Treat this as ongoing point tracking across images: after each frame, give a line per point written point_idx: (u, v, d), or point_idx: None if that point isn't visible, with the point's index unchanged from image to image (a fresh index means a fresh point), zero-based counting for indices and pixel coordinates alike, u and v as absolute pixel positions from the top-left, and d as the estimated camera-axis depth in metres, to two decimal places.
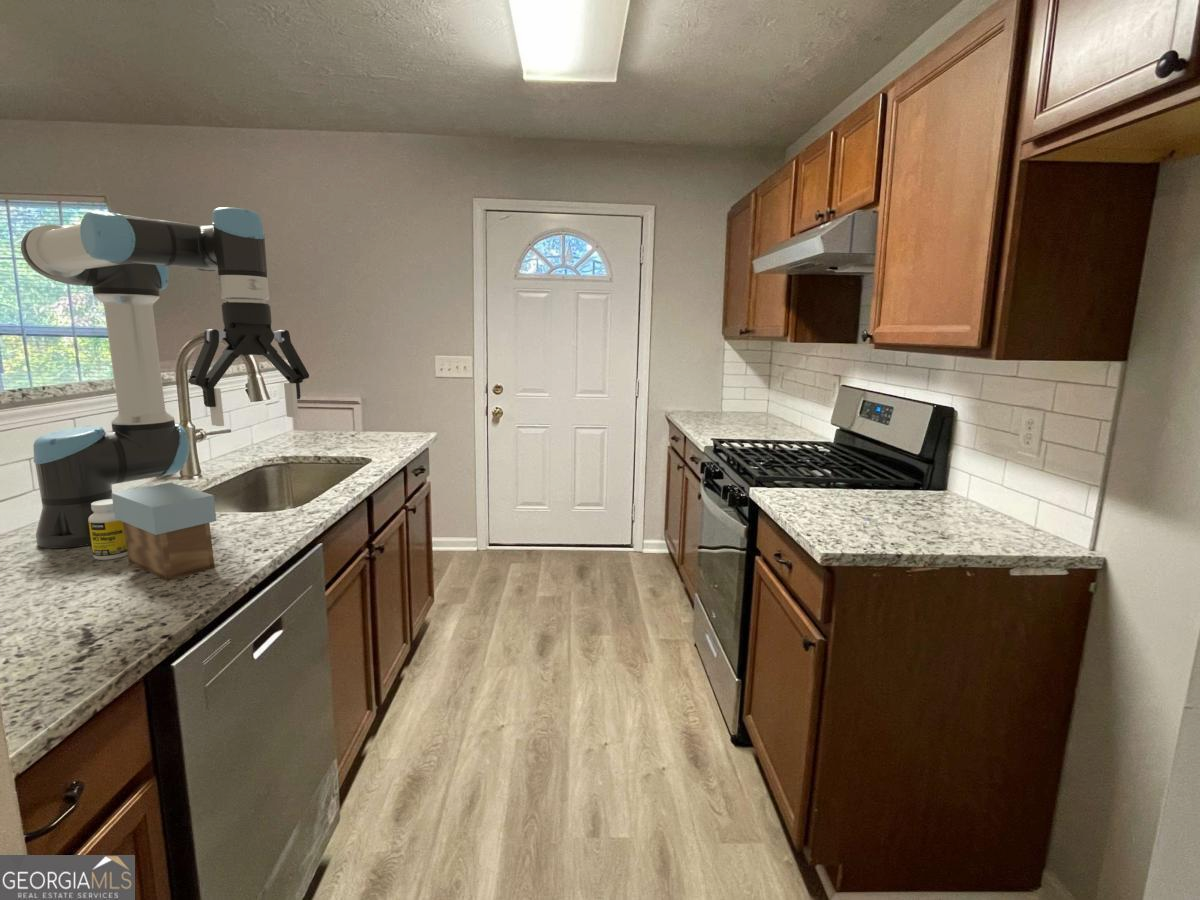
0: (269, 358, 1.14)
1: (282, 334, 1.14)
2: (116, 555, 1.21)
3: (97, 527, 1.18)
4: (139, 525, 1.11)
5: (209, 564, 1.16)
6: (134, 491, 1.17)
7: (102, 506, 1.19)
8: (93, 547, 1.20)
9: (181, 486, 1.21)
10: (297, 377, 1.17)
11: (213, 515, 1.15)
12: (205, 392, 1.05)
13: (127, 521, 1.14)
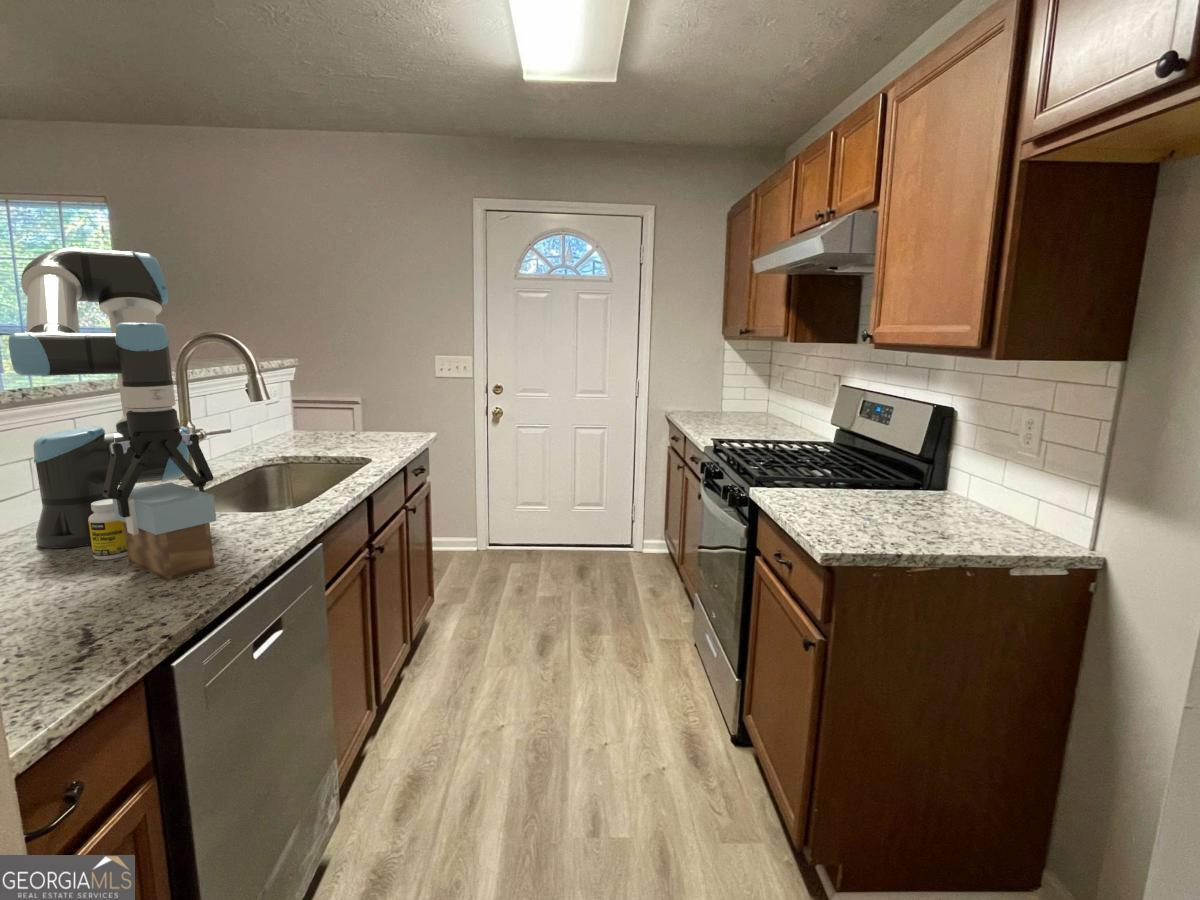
0: (174, 461, 1.17)
1: (191, 437, 1.18)
2: (116, 555, 1.21)
3: (97, 527, 1.18)
4: (139, 525, 1.11)
5: (209, 564, 1.16)
6: (134, 491, 1.17)
7: (102, 506, 1.19)
8: (93, 547, 1.20)
9: (181, 486, 1.21)
10: (200, 481, 1.20)
11: (213, 515, 1.15)
12: (119, 504, 1.10)
13: None
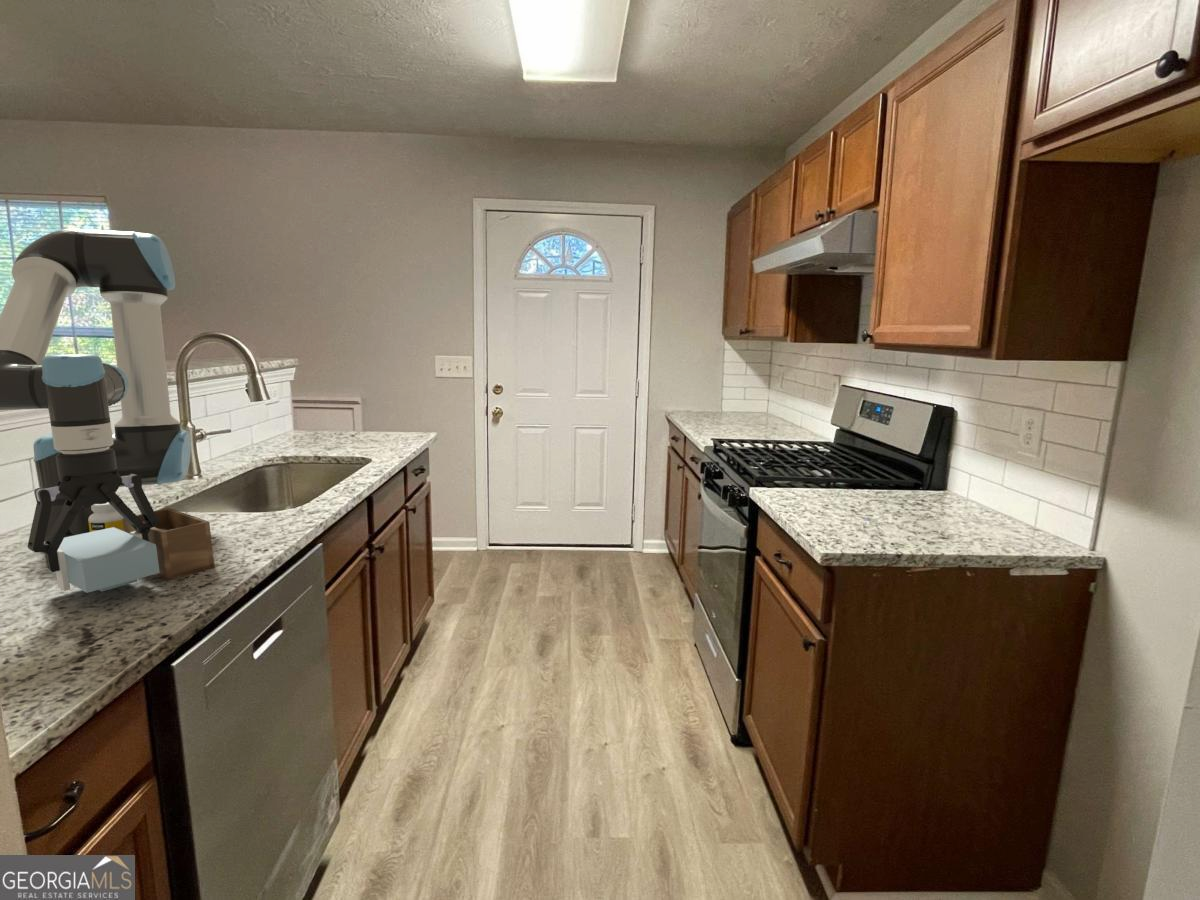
0: (113, 506, 1.05)
1: (132, 479, 1.06)
2: None
3: (97, 527, 1.18)
4: (70, 580, 0.99)
5: (209, 564, 1.16)
6: (69, 539, 1.05)
7: (102, 506, 1.19)
8: None
9: (123, 532, 1.09)
10: (144, 527, 1.08)
11: (156, 567, 1.04)
12: (47, 557, 0.98)
13: None
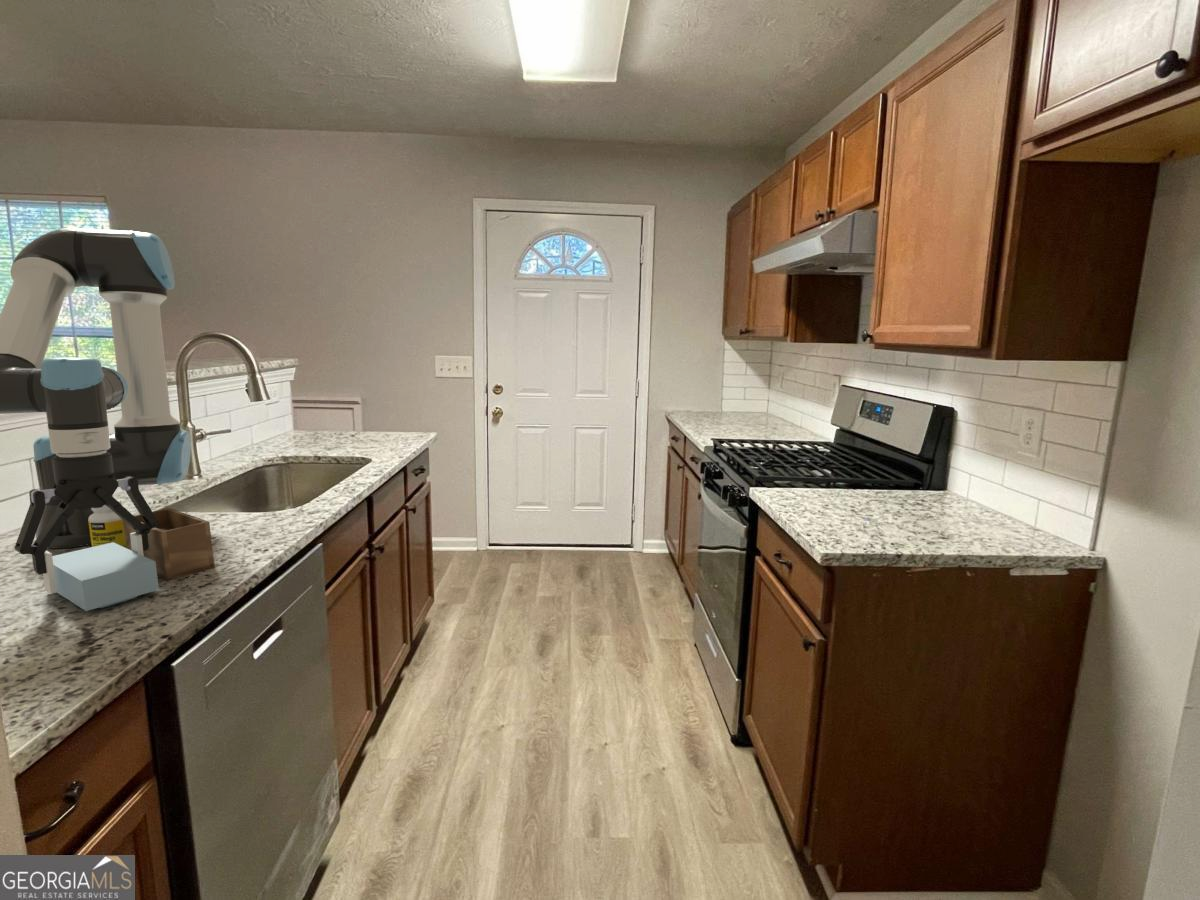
0: (111, 509, 1.05)
1: (129, 482, 1.06)
2: None
3: (97, 527, 1.18)
4: (70, 598, 0.99)
5: (209, 564, 1.16)
6: (68, 556, 1.05)
7: (102, 506, 1.19)
8: None
9: (123, 548, 1.09)
10: (144, 528, 1.08)
11: (155, 583, 1.04)
12: (34, 559, 0.97)
13: (58, 591, 1.02)
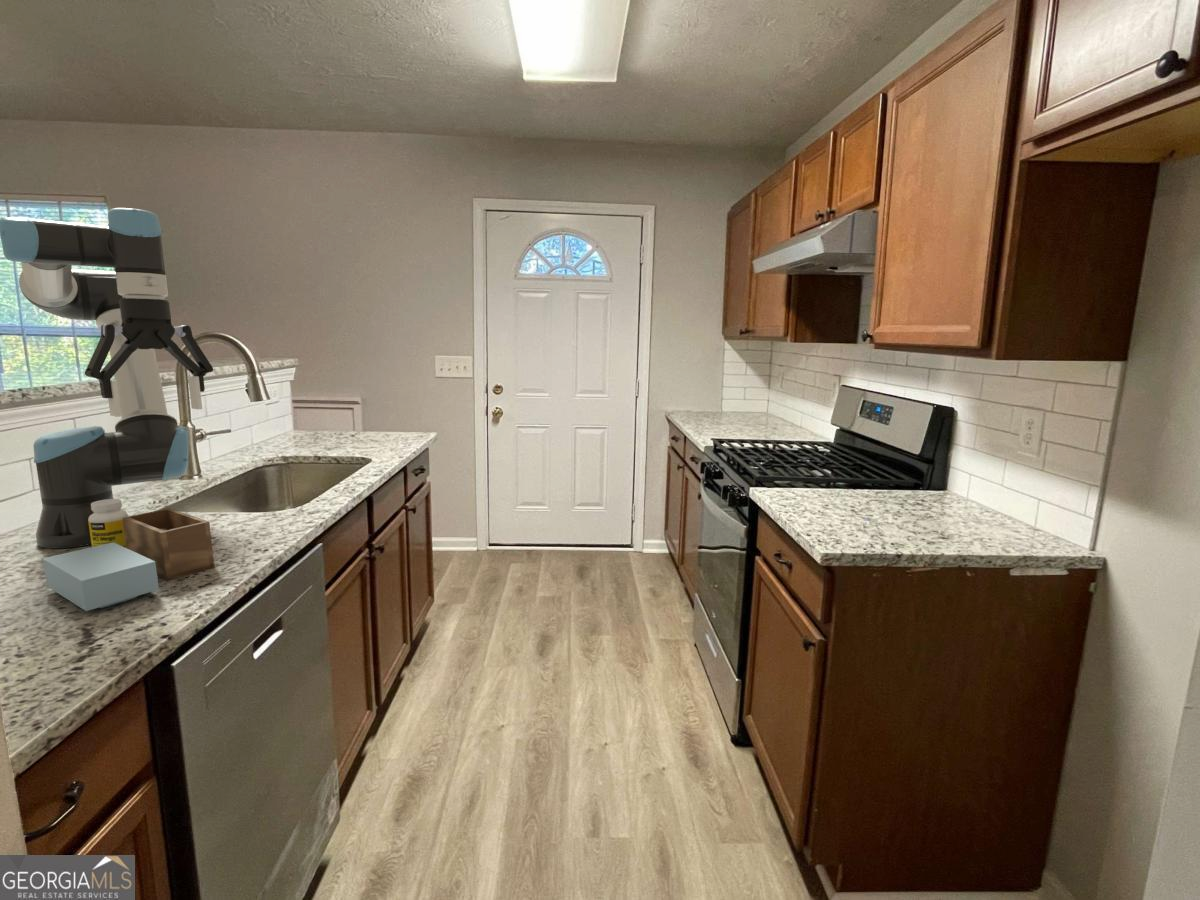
0: (171, 352, 1.19)
1: (183, 329, 1.19)
2: None
3: (97, 527, 1.18)
4: (70, 598, 0.99)
5: (209, 564, 1.16)
6: (68, 556, 1.05)
7: (102, 506, 1.19)
8: None
9: (123, 548, 1.09)
10: (200, 370, 1.22)
11: (155, 583, 1.04)
12: (101, 384, 1.10)
13: (58, 591, 1.02)
